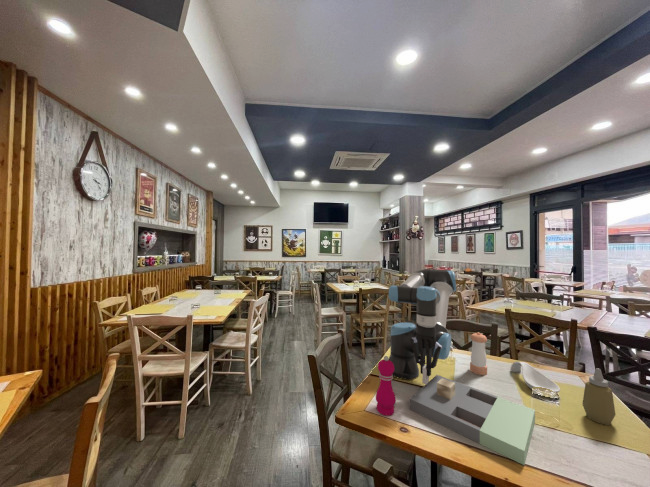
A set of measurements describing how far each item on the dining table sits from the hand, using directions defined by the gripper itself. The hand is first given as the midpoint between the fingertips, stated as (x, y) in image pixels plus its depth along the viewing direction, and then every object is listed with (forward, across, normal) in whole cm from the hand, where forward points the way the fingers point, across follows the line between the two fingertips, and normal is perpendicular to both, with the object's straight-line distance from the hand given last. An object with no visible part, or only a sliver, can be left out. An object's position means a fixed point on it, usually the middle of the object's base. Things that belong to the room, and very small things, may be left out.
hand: (425, 382), depth 104 cm
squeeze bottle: (+6, +50, +31) cm, 59 cm away
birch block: (+1, +8, 0) cm, 8 cm away
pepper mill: (+6, -6, -20) cm, 22 cm away
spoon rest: (+6, +29, +45) cm, 54 cm away
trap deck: (+5, +16, 0) cm, 17 cm away
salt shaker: (+6, +10, +40) cm, 41 cm away
